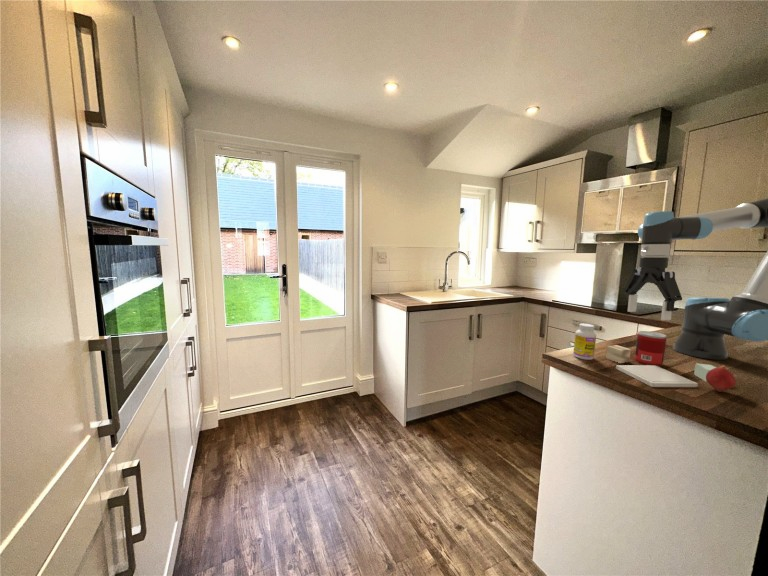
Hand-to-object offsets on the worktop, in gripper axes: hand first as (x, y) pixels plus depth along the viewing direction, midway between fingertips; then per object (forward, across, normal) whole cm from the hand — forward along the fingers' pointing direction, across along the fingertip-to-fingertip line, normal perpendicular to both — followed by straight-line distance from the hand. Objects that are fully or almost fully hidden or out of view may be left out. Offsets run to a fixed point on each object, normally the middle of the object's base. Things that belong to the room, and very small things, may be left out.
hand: (647, 315), depth 107 cm
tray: (+18, +12, -7) cm, 23 cm away
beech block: (+18, -3, -7) cm, 19 cm away
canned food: (+18, -1, +3) cm, 18 cm away
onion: (+18, +22, +3) cm, 29 cm away
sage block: (+18, +13, +10) cm, 25 cm away
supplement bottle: (+18, -6, -18) cm, 26 cm away
